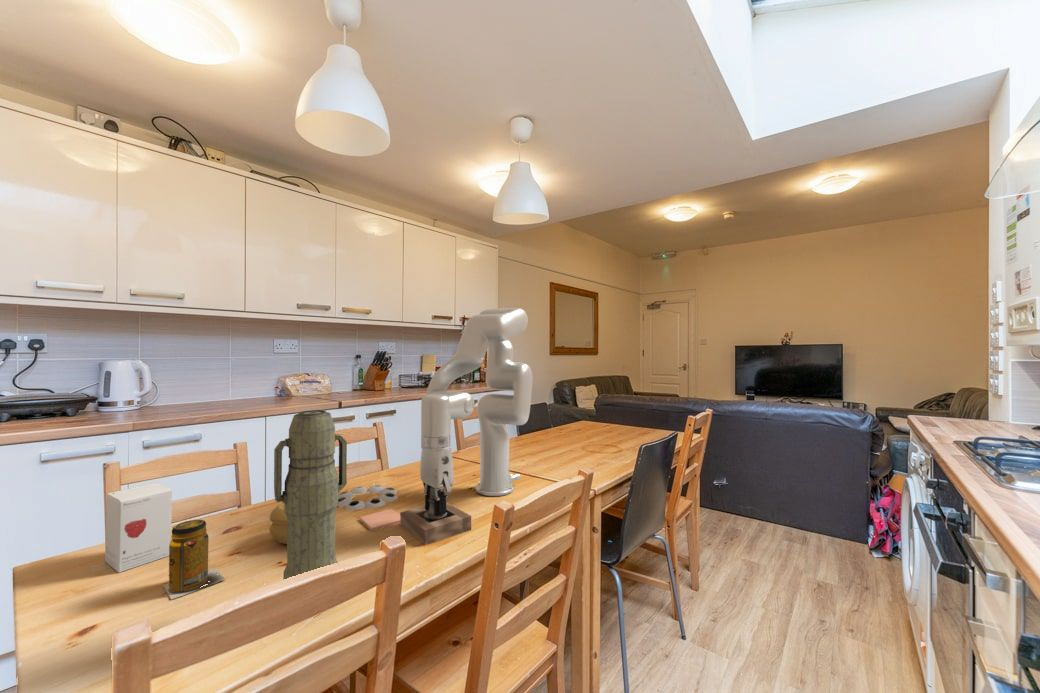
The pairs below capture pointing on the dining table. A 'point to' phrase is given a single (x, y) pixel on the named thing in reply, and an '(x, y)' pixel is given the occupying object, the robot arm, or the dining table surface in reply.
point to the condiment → (189, 560)
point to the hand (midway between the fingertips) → (435, 510)
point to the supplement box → (137, 526)
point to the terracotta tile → (380, 519)
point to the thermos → (310, 490)
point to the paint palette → (368, 504)
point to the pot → (279, 524)
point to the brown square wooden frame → (435, 524)
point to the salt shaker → (430, 514)
